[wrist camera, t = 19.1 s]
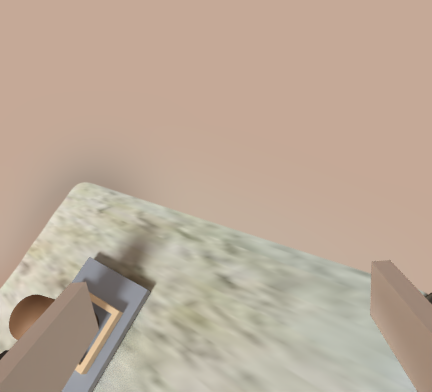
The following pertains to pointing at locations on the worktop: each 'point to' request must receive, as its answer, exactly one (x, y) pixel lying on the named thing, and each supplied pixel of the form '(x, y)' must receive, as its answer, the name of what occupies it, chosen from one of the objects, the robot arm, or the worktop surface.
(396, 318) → the robot arm
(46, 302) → the post
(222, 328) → the worktop surface
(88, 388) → the board
